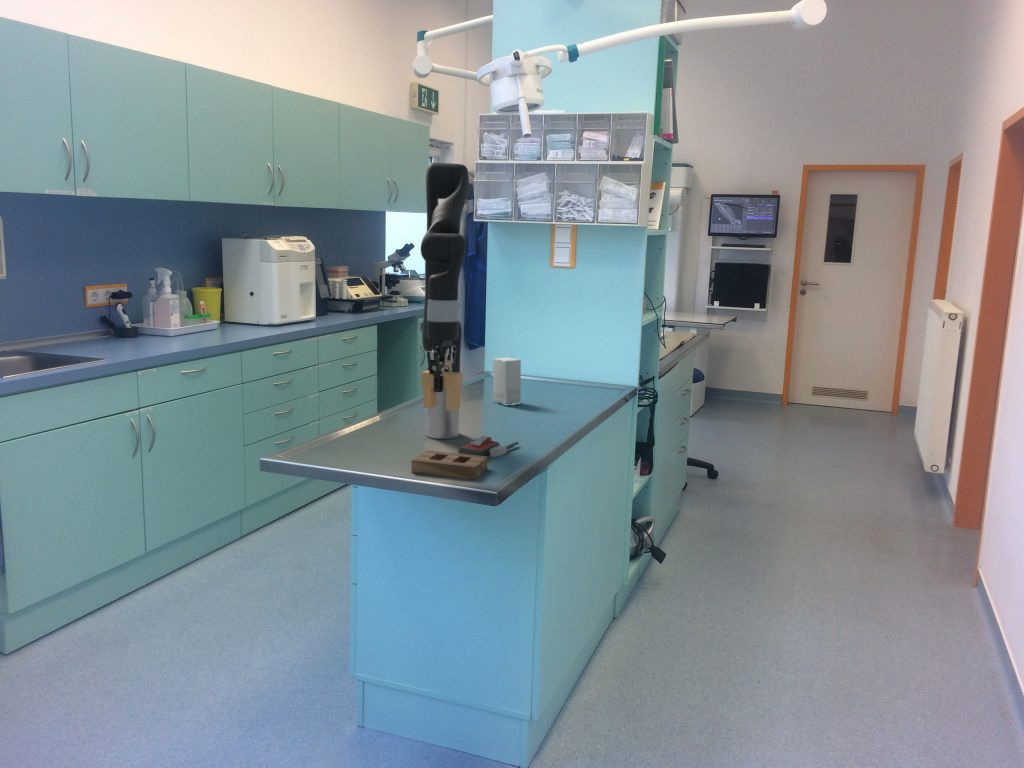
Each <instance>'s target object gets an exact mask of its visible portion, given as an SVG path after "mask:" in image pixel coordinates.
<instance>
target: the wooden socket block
mask: <svg viewBox="0 0 1024 768" xmlns="http://www.w3.org/2000/svg"><path fill="white" fill-rule="evenodd" d="M488 459H489V457H487V456H477V455H468V454H458V453H457V452H448V451H440V450H439V451H438V450H425V451H423V452H422V453H420V454H419V455H418V456H416V457H414V458H412V459H411V473H413V474H414V473H416V474H423V475H431V476H440V477H441V476H442V477H450V478H456V479H457V478H458V479H459V478H460V479H467V480H476V479H477V478H479V477H480V476H481V475H482V474H483V473H484V472H485V471H486V470H487V469H488V467H489V460H488Z"/></svg>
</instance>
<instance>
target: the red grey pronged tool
mask: <svg viewBox="0 0 1024 768" xmlns="http://www.w3.org/2000/svg"><path fill="white" fill-rule="evenodd" d="M519 444H520V443H519V442H518V441H514V442H512V443H509V444H508V445H501V444H500V442H499V441H495V440H494V441H493V439H492V437H491V436H483V435H482V436H481V437H477V438H476V439H475V440H474V441H470V443H469V444H466V445H463V446H461V447H458V450H457V451H458V454H468V455H477V456H487V457H488V458H493V457H500V456H503V455H505V454H507V453H508V450H510V449H512V448H514V447H515V446H517V445H519Z"/></svg>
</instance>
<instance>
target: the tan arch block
mask: <svg viewBox="0 0 1024 768" xmlns="http://www.w3.org/2000/svg"><path fill="white" fill-rule="evenodd" d="M420 373H421V374H420V375H421V377H420V378H421V379H420V381H421V383H420V384H421V385H420V387H421V388H422V408H424V409H427V408H432V407H435V406H437V392H434V376H432V374H429V370H425V371H422V372H420ZM462 388H463V372H460V373H459V372H445V371H444V375H443V389H447V395H446V410H456V409H458V408H459V409H460V408H461V389H462Z"/></svg>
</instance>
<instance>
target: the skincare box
mask: <svg viewBox="0 0 1024 768" xmlns="http://www.w3.org/2000/svg"><path fill="white" fill-rule="evenodd" d="M521 361H522V360H521V359H518V358H513V357H508V356H507V357H499V358H493V359H492V377H493V378H492V382H493V383H492V386H493V389H492V391H493V393H492V395H493V398H492V399H493V400H494V401H497V402H500V403H503V404H512V403H519V402H521V401H522V400H521V399H522V398H521V397H522V396H521V395H522V393H521V391H522V389H521V385H522V384H521V383H522V382H521V381H522V378H521V376H522V375H521V374H522V372H521V369H522V366H521V363H522V362H521ZM521 403H522V402H521Z"/></svg>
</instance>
